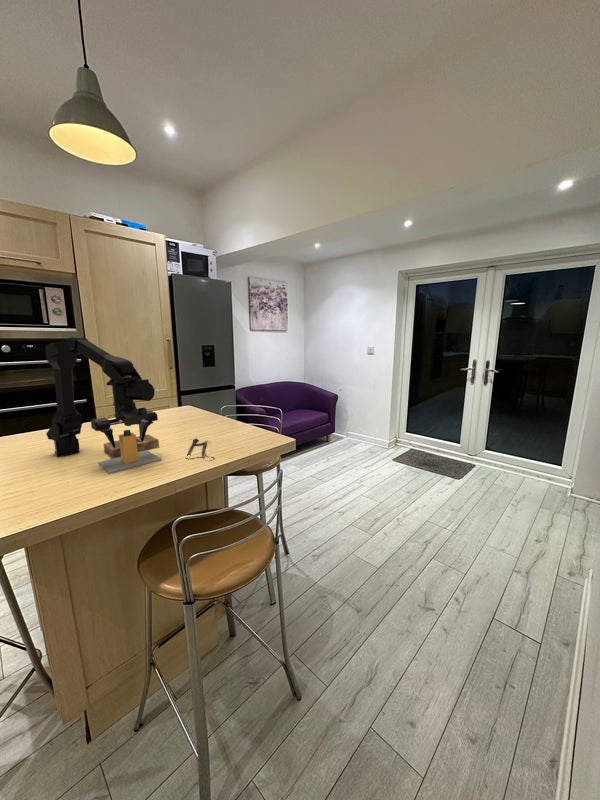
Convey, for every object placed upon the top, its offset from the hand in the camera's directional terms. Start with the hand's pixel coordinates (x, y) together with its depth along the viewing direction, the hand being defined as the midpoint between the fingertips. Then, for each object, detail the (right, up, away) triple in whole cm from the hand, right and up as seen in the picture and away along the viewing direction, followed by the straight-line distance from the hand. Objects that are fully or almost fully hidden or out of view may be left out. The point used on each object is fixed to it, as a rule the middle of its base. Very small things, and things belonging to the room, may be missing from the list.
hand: (128, 444), depth 108 cm
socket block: (-6, -3, +14) cm, 15 cm away
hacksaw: (+21, -4, +13) cm, 25 cm away
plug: (0, -5, +1) cm, 6 cm away
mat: (0, -6, +1) cm, 6 cm away
